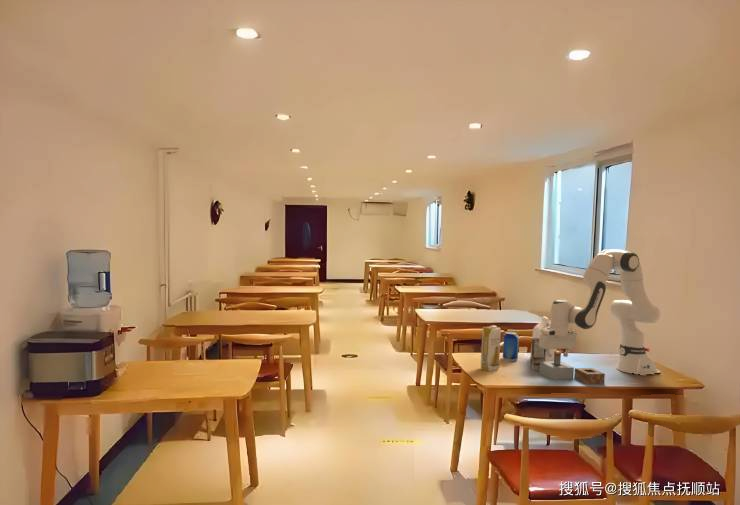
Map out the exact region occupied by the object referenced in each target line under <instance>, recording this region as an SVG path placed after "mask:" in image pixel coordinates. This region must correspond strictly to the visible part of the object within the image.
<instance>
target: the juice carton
mask: <svg viewBox="0 0 740 505" xmlns="http://www.w3.org/2000/svg"><path fill="white" fill-rule="evenodd" d="M501 331H502V329H501V327H498V326H497V325H490V326H483V327H482V332H481V333H482V335H481V352H480V355H481V356H480V369H482V370H485V371H489V372H493V371H497V370H499V368H500V353H501V352H500V351H501V335H502V334H501V333H502V332H501Z"/></svg>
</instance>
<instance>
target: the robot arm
mask: <svg viewBox="0 0 740 505" xmlns="http://www.w3.org/2000/svg"><path fill="white" fill-rule="evenodd" d="M612 270H613V271H619V281H620V290H621V293H622V295H624V296H625V297H627V299H628V300H627V299H615V300H613V301H612V303H611V304H610V306H609V310H610V313H611V315H612V316H613V317H614V318H615V319H616V321H617V322H618V324H619V327H620V335H621V336H620V337H621V338H620V339H621V340H620V344H619V356H618V362H617V364H616V367H615V369H616V370H618V371H620V372H623V373H627V374H632V373H634V375H638V374H640V375H639V376H646V375H645V374H652V375H654V374H653V373H659V372H661V370H659V369H657V365H656V361H655V360H653V358H651V356H649V355H648V354H647V353H648V352H650V351H651V348H650V347H645V346H644V340H645V333H644V331H643V330H642V329H641V328H639V327H638V325H636V322H637V323H643V324H655V323H656V322H658V320H659V319H660V316H661V312H660V309H659V307H658V306H657V305H655V304H654V303H653V302H652V301H651V300H650V298H649V297H648V295H647V294H646V290H645V284H644V283H645V282H644V275H643V270H642V266H641V262H640V258H639V256H638V254H637V253H635V252H632V251H627V250H623V249H611V248H607V249H603V250H601V251H600V252H599V253H597V254H596V255H595V256H594V258H593V259H592V260H591V261H590V263H589V264H588V266H587V267H586V270H585V271H584V273H583V276H582V277H583V278H582V279H583V283H584V284H585V286H586V287H587V288H588V289H589V290H590V296H589V298H588V300H587V303H586V306H584V307H579V306H577V305H574V304H573V303H570V302H569V301H568V300H567V299H556V300H554V301H553V302H551V303H552V304H551V308H550V322H549V323H550V326H549V327H546V328H543V329H541V333H543V334H541V335H540V339H539V346H540V348H542V349H545V350H546V352H547V357H552V356H551V355H552V354H550V352H549V351H550V349H557V350H558V349H559V350H560V349H561V350H563V349H565V351H564V352H563V355H562V356H563V357H564V358H565V357H568V356H569V353H570V352H571V349H576V348H577V347H578V342H577V341H578V340H577V332H576V331H574V330H569V324H571V325H574V326H576V327H578V328H581V329H583V330H589V329H591V328H593V327H594V325H595V324H596V322H597V316H598V313H599V309H600V307H601V304H602V302H603V299H604V296H605V293H606V289H607V288H606V287H607V286H606V283H607V280H608V278H609V276H610V274H611V271H612ZM656 370H657V371H656Z"/></svg>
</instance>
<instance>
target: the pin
mask: <svg viewBox="0 0 740 505" xmlns="http://www.w3.org/2000/svg"><path fill="white" fill-rule="evenodd" d="M561 357H562V351H561V350H560V351H559V350H557V351H554V365H555V366H560V361H561ZM561 362H562V361H561Z"/></svg>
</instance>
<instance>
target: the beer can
mask: <svg viewBox="0 0 740 505" xmlns="http://www.w3.org/2000/svg"><path fill="white" fill-rule="evenodd" d="M519 340H520V337H519V335H518V332H515V331H506V332H505V334H504V335H503V346H502V347H503V348H502V359H503V360H504V361H507V362H516V361H517V360H518V359H519V345H520V342H519Z"/></svg>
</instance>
